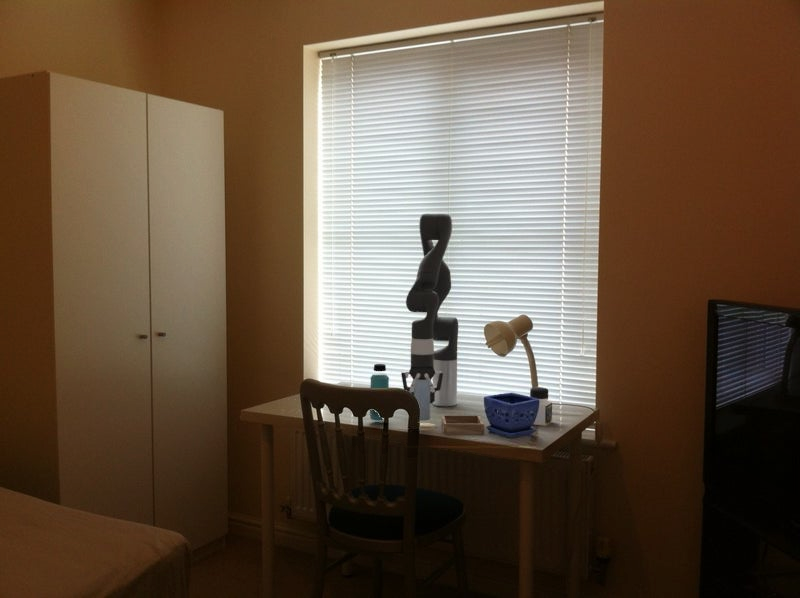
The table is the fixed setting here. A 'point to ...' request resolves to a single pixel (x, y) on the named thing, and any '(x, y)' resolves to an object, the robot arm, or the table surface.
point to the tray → (462, 424)
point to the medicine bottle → (542, 406)
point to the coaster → (427, 426)
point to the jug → (423, 398)
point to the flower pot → (511, 414)
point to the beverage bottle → (378, 385)
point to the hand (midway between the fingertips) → (421, 403)
